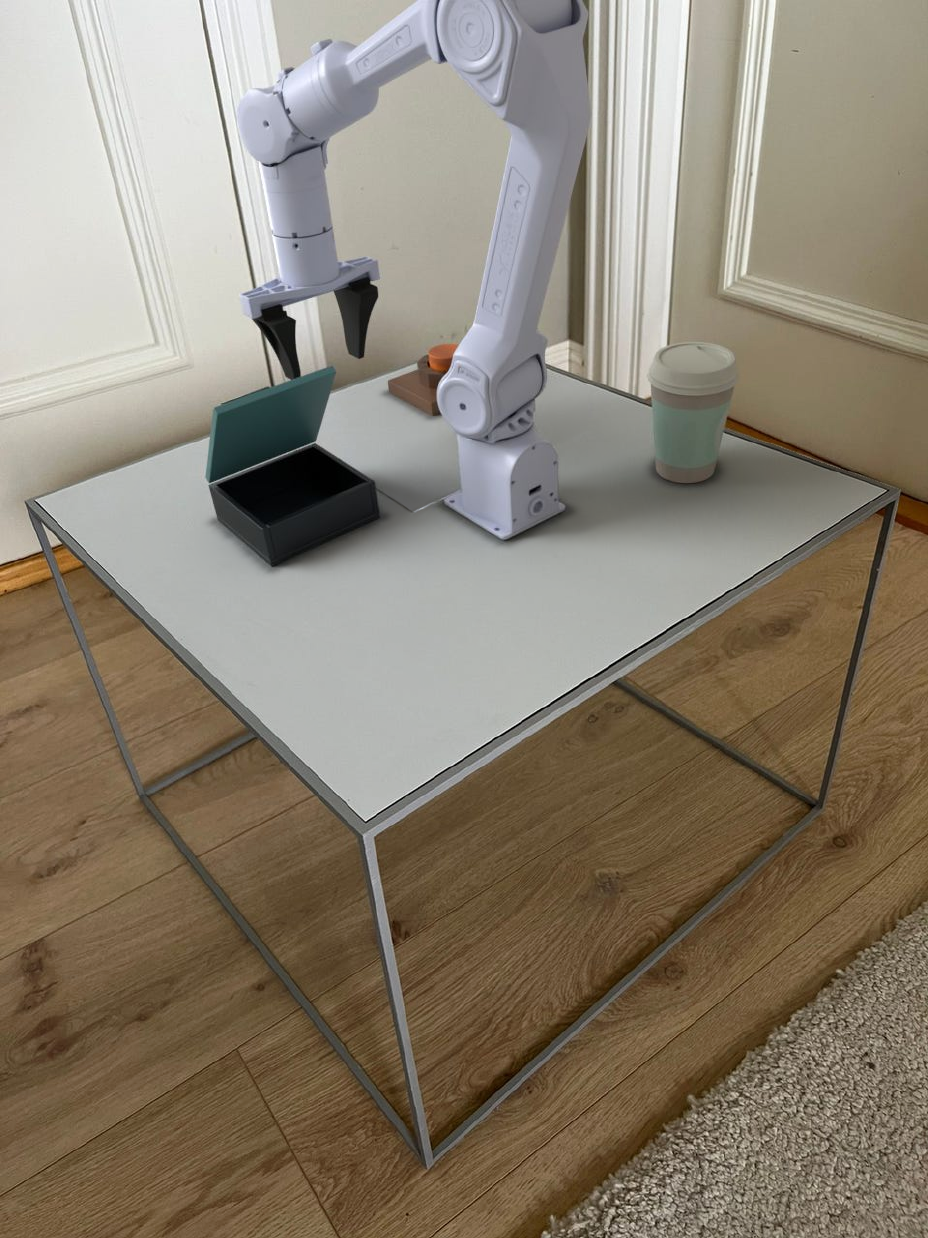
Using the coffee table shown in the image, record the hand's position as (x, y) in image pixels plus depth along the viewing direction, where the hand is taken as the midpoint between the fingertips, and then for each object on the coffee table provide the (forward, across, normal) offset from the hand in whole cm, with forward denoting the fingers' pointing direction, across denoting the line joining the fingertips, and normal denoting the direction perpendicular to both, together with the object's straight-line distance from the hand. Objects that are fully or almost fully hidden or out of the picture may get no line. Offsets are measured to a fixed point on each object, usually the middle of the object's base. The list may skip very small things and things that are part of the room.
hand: (325, 366), depth 97 cm
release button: (+7, -19, -5) cm, 21 cm away
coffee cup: (+11, -24, +28) cm, 38 cm away
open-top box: (+10, +10, +8) cm, 16 cm away
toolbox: (+1, +10, +6) cm, 12 cm away
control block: (+10, -19, -5) cm, 22 cm away
